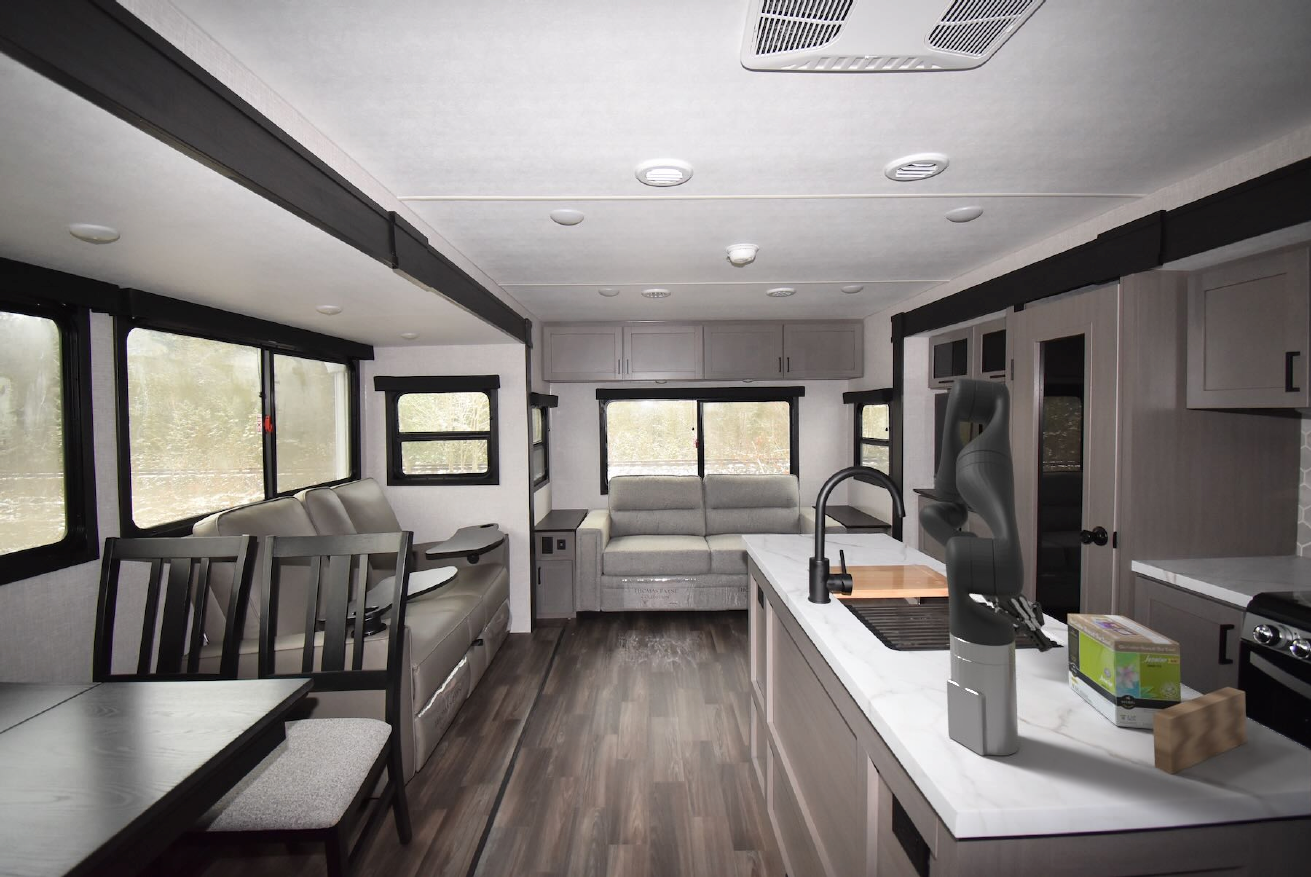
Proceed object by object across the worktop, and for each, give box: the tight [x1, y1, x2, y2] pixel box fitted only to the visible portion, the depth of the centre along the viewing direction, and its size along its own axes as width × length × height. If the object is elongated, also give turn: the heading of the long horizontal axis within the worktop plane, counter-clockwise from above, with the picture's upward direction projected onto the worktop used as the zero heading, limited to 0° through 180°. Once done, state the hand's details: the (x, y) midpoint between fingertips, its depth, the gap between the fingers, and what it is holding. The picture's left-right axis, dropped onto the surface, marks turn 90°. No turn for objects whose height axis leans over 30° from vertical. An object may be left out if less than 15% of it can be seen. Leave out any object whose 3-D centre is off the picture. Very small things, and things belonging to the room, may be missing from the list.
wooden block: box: [1153, 686, 1248, 775], centre depth 83 cm, size 20×2×8 cm, turn 111°
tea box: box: [1067, 613, 1182, 730], centre depth 98 cm, size 15×10×15 cm
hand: (1047, 649), depth 110 cm, fingers closed
